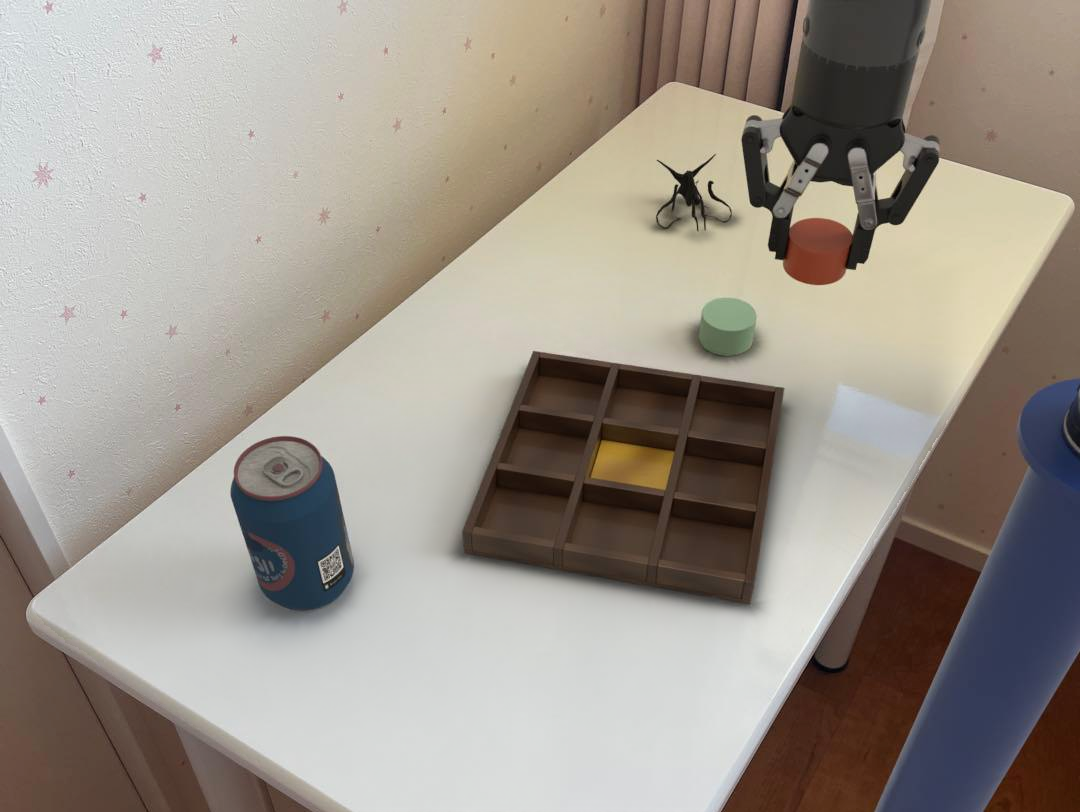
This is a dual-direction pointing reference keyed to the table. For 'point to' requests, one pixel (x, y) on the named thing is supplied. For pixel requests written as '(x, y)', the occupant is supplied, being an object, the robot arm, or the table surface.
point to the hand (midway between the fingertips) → (815, 258)
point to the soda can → (292, 522)
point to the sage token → (727, 326)
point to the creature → (690, 193)
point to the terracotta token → (817, 251)
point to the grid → (631, 476)
